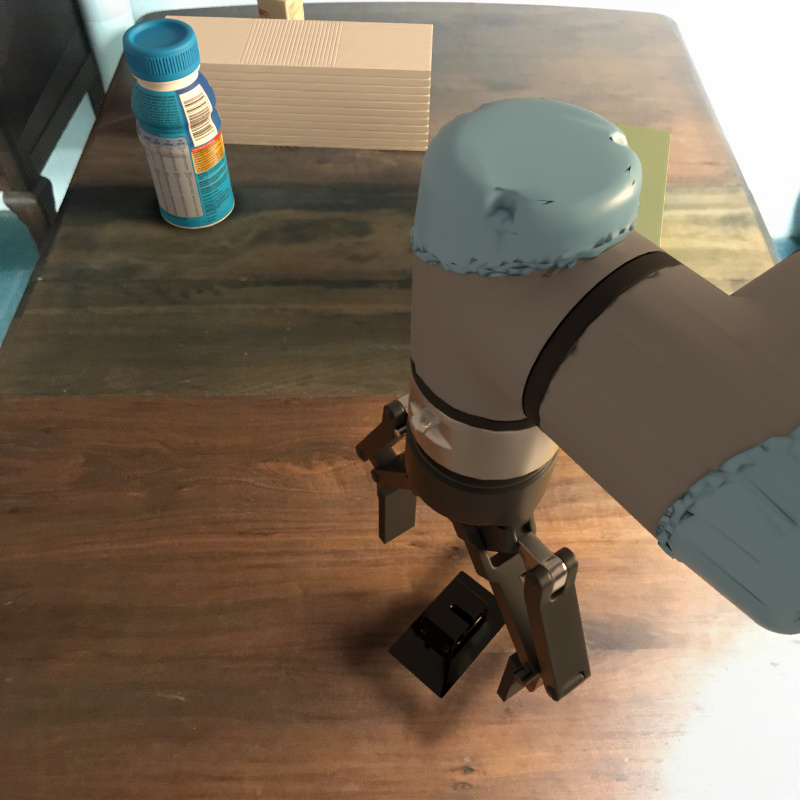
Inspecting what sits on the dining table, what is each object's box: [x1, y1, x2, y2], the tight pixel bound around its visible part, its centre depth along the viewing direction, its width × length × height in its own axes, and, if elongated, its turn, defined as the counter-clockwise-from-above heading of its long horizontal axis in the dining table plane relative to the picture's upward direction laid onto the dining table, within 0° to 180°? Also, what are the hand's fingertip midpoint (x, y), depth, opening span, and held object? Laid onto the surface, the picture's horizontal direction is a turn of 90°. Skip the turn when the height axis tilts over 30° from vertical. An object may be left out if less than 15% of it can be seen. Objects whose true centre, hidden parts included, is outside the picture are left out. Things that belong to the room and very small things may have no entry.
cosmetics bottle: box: [256, 0, 305, 20], centre depth 105 cm, size 5×4×10 cm
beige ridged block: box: [164, 15, 434, 152], centre depth 95 cm, size 32×11×11 cm, turn 87°
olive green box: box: [542, 97, 672, 248], centre depth 79 cm, size 14×26×12 cm, turn 165°
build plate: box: [387, 570, 506, 699], centre depth 56 cm, size 12×7×5 cm, turn 138°
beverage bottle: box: [122, 17, 235, 230], centre depth 81 cm, size 8×8×20 cm
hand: (452, 604), depth 55 cm, fingers open, 13 cm apart
